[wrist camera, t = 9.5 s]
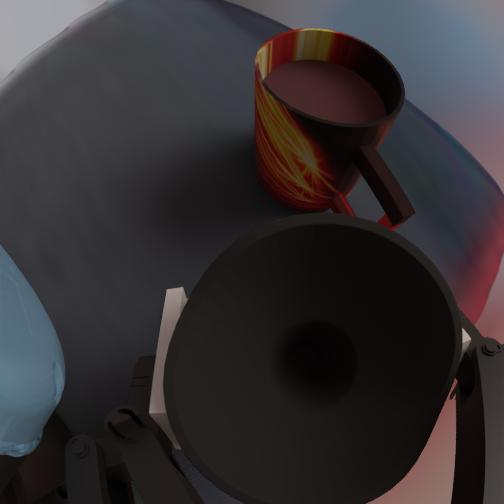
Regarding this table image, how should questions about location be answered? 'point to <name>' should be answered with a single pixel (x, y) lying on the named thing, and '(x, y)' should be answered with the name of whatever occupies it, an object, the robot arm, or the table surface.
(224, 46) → the table surface
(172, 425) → the pen holder
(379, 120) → the mug
